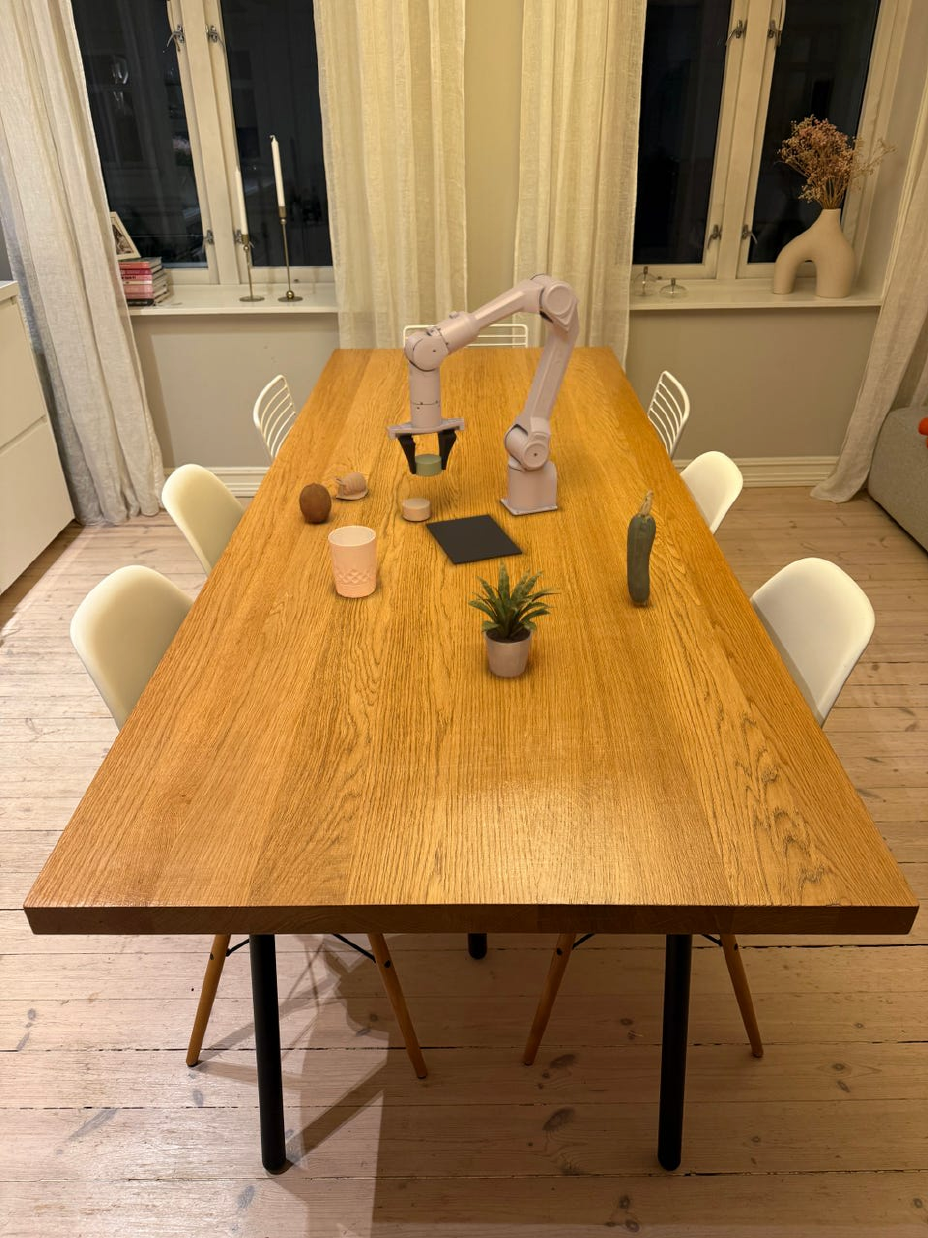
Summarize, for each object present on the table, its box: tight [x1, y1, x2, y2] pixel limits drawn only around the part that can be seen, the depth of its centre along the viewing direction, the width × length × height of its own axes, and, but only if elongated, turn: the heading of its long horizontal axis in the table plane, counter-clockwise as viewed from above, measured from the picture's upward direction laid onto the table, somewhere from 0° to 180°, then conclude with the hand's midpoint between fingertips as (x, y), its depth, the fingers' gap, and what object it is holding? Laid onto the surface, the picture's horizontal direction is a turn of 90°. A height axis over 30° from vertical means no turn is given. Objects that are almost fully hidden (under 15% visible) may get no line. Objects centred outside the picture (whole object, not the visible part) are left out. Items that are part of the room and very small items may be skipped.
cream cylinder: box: [401, 497, 431, 522], centre depth 188 cm, size 5×5×3 cm
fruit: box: [298, 482, 332, 523], centre depth 186 cm, size 6×6×8 cm
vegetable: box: [626, 488, 657, 607], centre depth 152 cm, size 4×4×20 cm
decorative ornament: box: [333, 471, 369, 501], centre depth 197 cm, size 4×8×5 cm, turn 129°
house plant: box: [467, 560, 563, 678], centre depth 136 cm, size 14×14×16 cm
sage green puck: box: [415, 453, 443, 478], centre depth 182 cm, size 5×5×3 cm
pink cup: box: [327, 525, 377, 599], centre depth 161 cm, size 8×8×10 cm
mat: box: [425, 513, 523, 565], centre depth 180 cm, size 13×18×1 cm
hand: (428, 470), depth 182 cm, fingers closed on sage green puck, 5 cm apart
